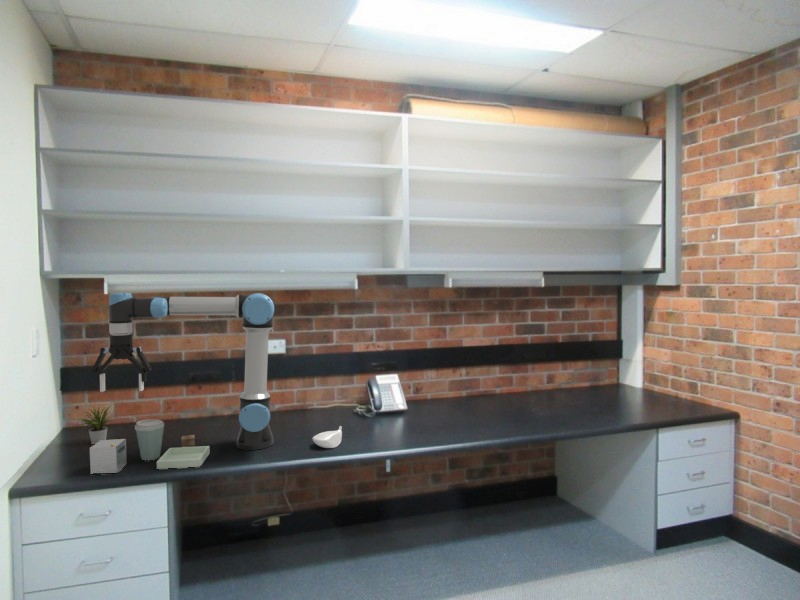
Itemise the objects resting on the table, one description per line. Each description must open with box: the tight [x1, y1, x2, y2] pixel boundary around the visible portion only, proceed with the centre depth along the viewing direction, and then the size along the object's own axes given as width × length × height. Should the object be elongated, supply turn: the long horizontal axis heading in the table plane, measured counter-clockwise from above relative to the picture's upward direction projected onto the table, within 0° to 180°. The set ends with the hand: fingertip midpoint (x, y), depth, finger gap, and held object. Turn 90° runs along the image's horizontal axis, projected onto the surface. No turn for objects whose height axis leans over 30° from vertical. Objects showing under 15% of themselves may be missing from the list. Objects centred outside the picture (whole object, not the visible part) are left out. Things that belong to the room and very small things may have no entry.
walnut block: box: [181, 434, 196, 447], centre depth 215 cm, size 5×5×5 cm
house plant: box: [77, 405, 113, 445], centre depth 225 cm, size 14×14×16 cm
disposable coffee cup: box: [134, 419, 165, 462], centre depth 204 cm, size 11×11×15 cm
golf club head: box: [312, 425, 343, 449], centre depth 218 cm, size 10×11×12 cm
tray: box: [156, 445, 211, 470], centre depth 201 cm, size 15×15×3 cm
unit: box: [89, 438, 128, 475], centre depth 193 cm, size 10×9×10 cm
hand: (122, 391), depth 193 cm, fingers open, 13 cm apart
